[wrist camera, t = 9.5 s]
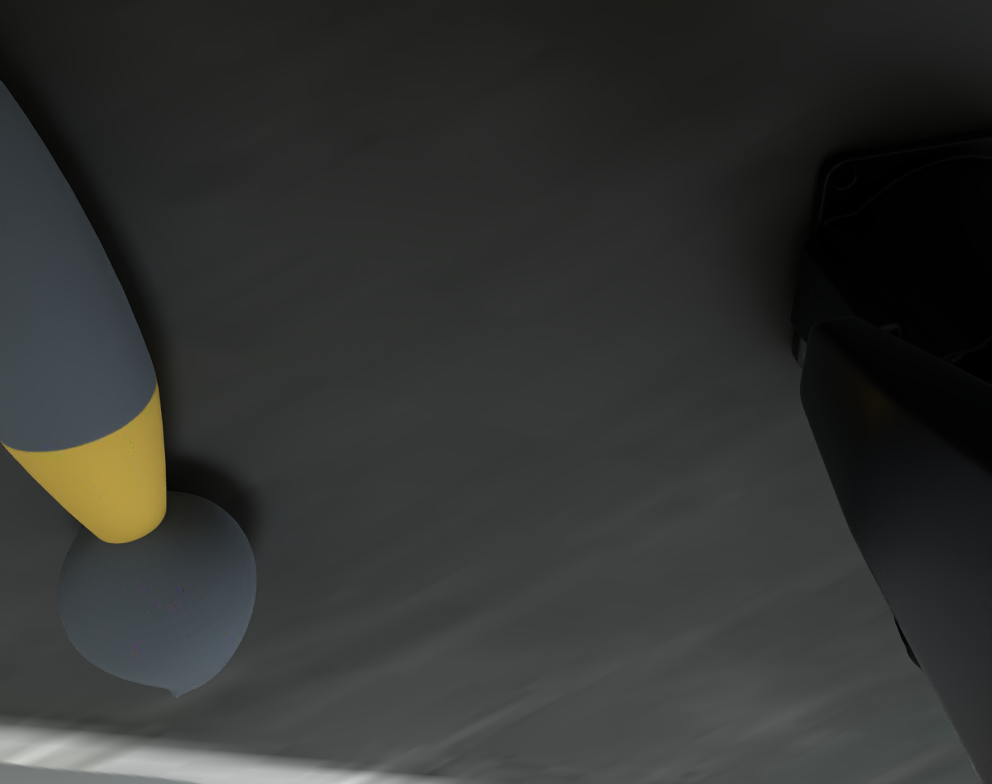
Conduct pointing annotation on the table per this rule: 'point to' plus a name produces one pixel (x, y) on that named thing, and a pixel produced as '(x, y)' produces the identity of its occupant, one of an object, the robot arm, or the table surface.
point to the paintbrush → (105, 442)
